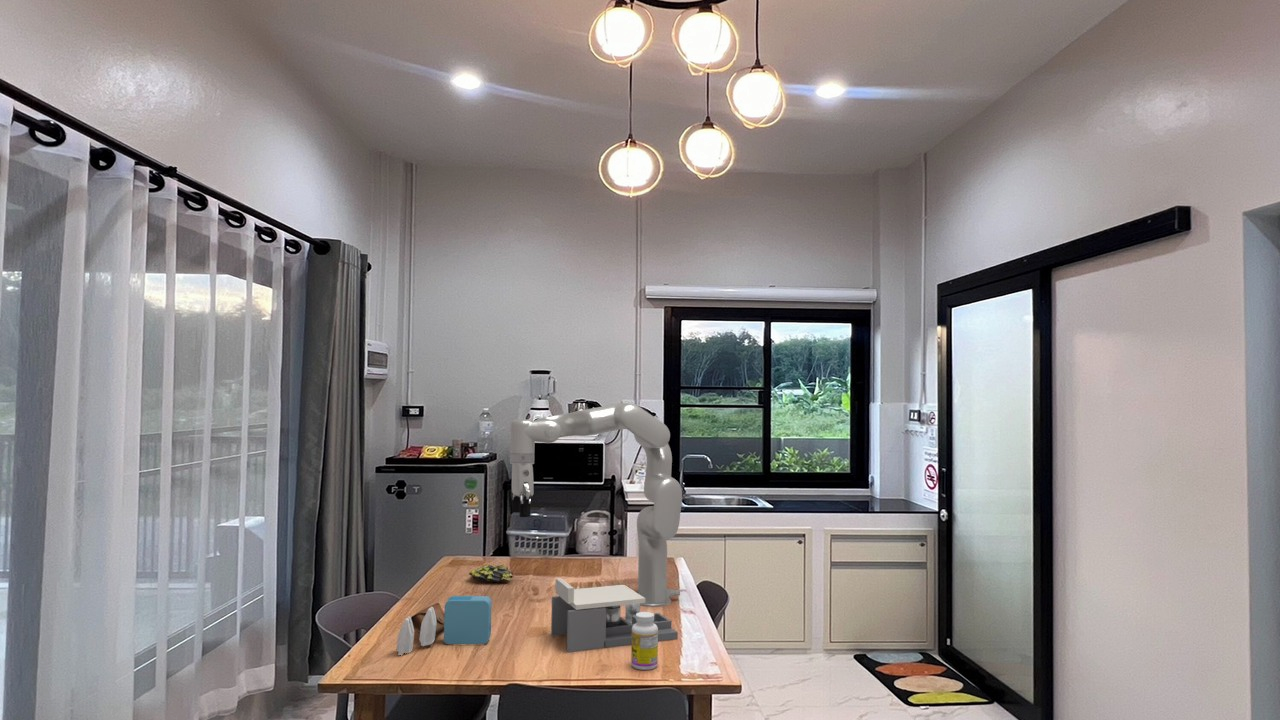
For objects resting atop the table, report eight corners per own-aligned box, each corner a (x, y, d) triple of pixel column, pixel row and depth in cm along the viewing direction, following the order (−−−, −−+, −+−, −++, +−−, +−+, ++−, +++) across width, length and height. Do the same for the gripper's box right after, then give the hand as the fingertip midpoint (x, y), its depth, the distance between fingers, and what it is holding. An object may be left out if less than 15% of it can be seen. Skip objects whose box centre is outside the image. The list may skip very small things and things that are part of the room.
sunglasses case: (433, 640, 200) (434, 614, 201) (407, 639, 201) (408, 613, 201) (453, 625, 218) (454, 601, 219) (429, 624, 218) (431, 601, 219)
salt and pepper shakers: (430, 637, 203) (439, 600, 201) (438, 645, 200) (448, 608, 198) (390, 648, 193) (400, 610, 192) (399, 657, 191) (408, 618, 189)
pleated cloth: (475, 573, 287) (480, 556, 288) (516, 584, 286) (521, 567, 287) (464, 576, 267) (469, 558, 269) (508, 588, 266) (513, 569, 268)
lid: (623, 588, 220) (624, 570, 220) (645, 602, 205) (645, 583, 205) (553, 595, 211) (553, 576, 211) (570, 610, 196) (570, 590, 197)
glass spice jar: (616, 626, 212) (617, 600, 212) (622, 631, 208) (622, 604, 208) (602, 628, 210) (602, 601, 211) (607, 633, 206) (608, 605, 207)
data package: (490, 639, 206) (491, 595, 206) (488, 645, 201) (489, 600, 202) (446, 640, 205) (448, 595, 206) (443, 645, 200) (444, 600, 201)
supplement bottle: (630, 661, 190) (630, 610, 191) (656, 661, 190) (656, 610, 191) (632, 671, 183) (632, 618, 184) (658, 670, 184) (659, 618, 184)
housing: (654, 623, 223) (654, 586, 223) (677, 639, 208) (678, 600, 209) (551, 634, 210) (551, 596, 211) (568, 652, 196) (568, 611, 196)
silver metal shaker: (636, 617, 228) (636, 592, 229) (642, 621, 224) (642, 596, 225) (623, 619, 227) (623, 594, 227) (628, 623, 223) (628, 597, 223)
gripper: (541, 461, 225) (540, 518, 224) (527, 456, 241) (525, 510, 240) (516, 461, 222) (515, 519, 221) (504, 457, 238) (502, 511, 237)
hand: (520, 514), depth 231 cm, fingers open, 9 cm apart
